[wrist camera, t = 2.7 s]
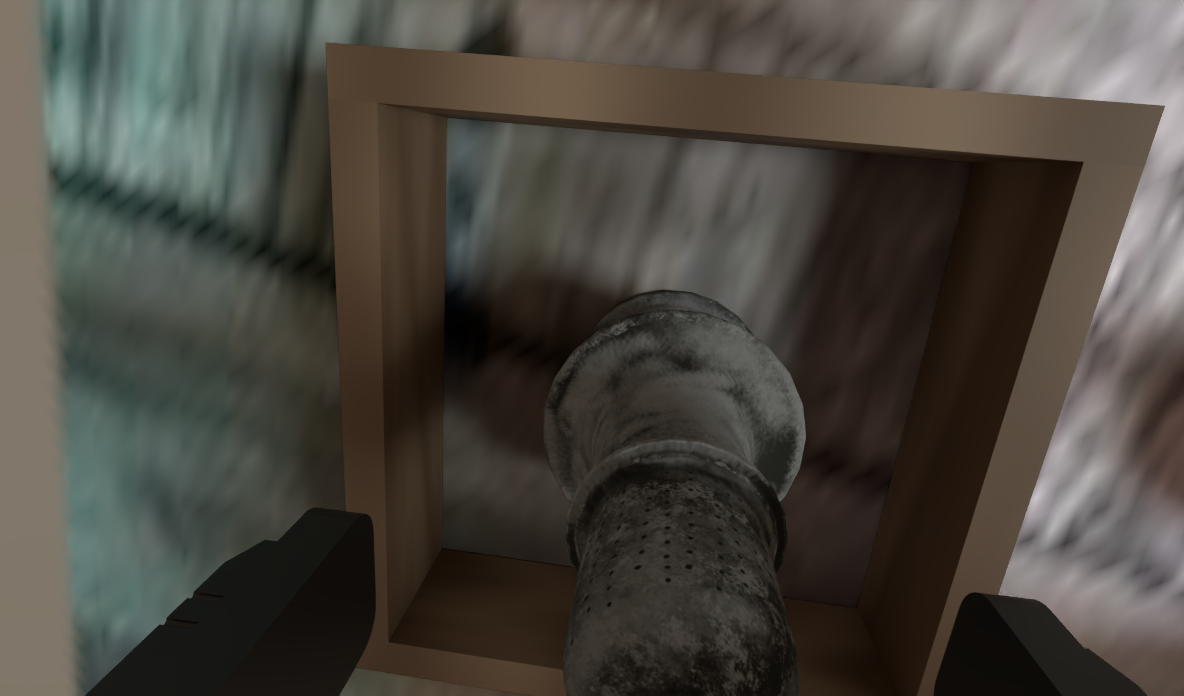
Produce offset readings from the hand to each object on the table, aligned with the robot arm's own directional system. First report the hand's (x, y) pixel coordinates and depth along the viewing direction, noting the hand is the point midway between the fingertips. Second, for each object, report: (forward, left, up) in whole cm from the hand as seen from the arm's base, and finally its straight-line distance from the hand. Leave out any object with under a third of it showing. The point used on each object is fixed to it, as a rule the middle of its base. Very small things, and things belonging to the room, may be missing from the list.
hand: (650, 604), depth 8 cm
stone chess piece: (0, 0, -9) cm, 9 cm away
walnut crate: (0, 0, -9) cm, 9 cm away
